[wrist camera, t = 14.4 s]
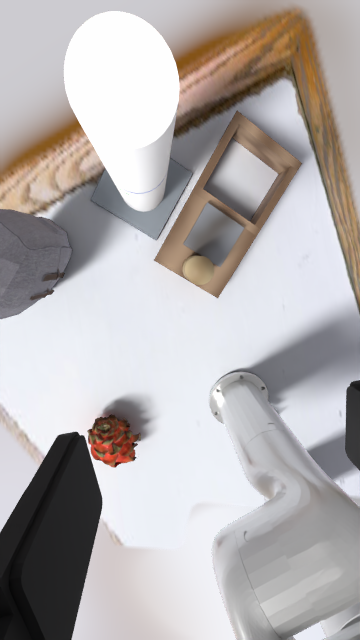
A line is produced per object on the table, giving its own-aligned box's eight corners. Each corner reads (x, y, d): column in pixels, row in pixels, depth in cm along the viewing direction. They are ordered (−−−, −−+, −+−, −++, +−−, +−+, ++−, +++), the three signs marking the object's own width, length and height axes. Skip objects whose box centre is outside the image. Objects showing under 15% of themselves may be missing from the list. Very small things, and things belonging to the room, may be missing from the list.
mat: (192, 174, 40) (192, 173, 40) (156, 240, 42) (156, 240, 42) (126, 127, 38) (125, 126, 37) (91, 200, 40) (90, 199, 39)
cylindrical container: (160, 216, 41) (167, 162, 17) (116, 205, 40) (58, 132, 16) (168, 169, 39) (190, 34, 15) (123, 157, 38) (69, -8, 14)
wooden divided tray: (288, 171, 42) (328, 146, 32) (212, 294, 46) (227, 305, 36) (228, 124, 39) (253, 82, 29) (154, 259, 43) (154, 261, 34)
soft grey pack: (50, 212, 40) (-49, 173, 20) (95, 244, 42) (43, 237, 22) (4, 287, 42) (-123, 316, 23) (49, 314, 44) (-34, 362, 25)
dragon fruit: (101, 399, 51) (135, 431, 56) (69, 436, 47) (109, 467, 52) (119, 410, 44) (156, 445, 49) (83, 453, 40) (128, 487, 45)
